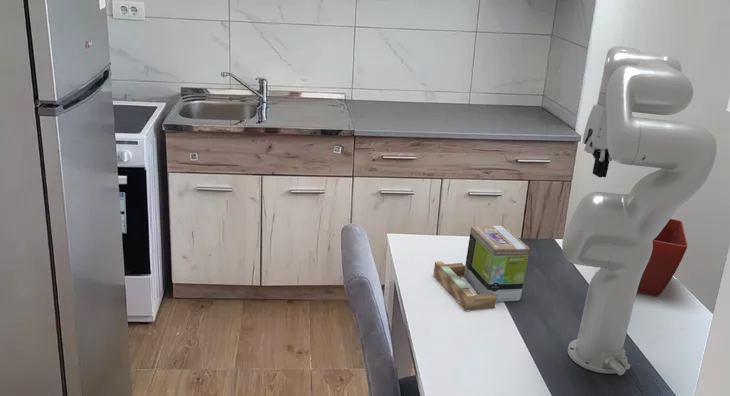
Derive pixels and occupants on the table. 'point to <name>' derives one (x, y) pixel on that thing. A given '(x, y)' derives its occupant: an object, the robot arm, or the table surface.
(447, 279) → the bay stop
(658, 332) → the table surface
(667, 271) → the plant pot
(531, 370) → the table surface
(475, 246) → the tea box
